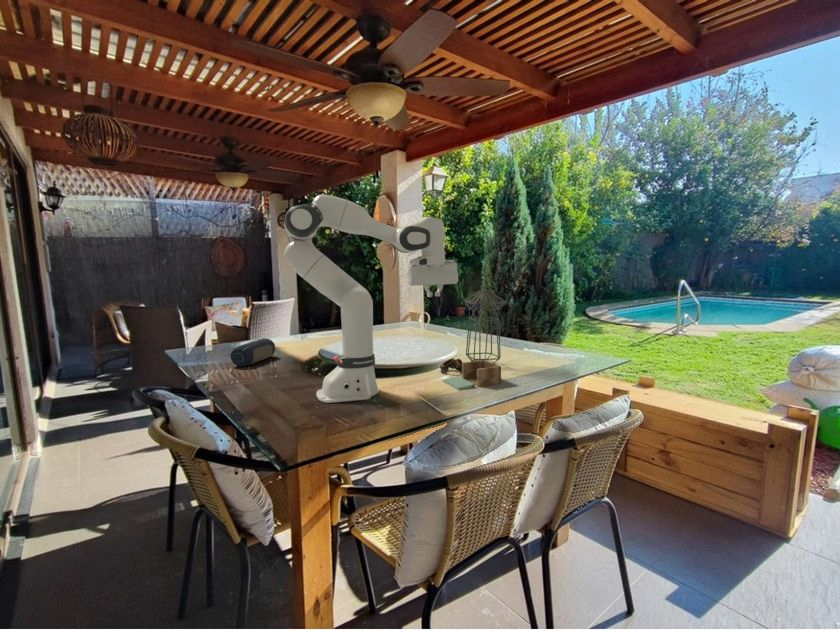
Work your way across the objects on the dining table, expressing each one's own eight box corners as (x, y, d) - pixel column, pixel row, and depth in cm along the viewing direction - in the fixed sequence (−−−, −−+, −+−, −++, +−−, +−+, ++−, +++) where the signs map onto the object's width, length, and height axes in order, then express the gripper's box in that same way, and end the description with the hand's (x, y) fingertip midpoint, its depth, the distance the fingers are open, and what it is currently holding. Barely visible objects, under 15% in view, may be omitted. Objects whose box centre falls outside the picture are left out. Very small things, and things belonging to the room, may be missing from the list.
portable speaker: (247, 369, 194) (245, 347, 193) (228, 367, 197) (227, 346, 195) (279, 356, 218) (278, 337, 217) (262, 355, 221) (261, 336, 219)
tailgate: (474, 387, 158) (458, 391, 155) (458, 379, 168) (443, 382, 165) (474, 384, 158) (458, 387, 155) (458, 376, 168) (443, 379, 165)
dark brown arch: (461, 381, 173) (451, 363, 172) (444, 387, 178) (433, 370, 178) (472, 366, 183) (462, 350, 182) (455, 373, 188) (445, 357, 187)
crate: (478, 390, 158) (478, 369, 157) (461, 382, 169) (462, 362, 168) (500, 387, 163) (501, 366, 161) (483, 379, 173) (483, 359, 172)
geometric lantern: (460, 363, 199) (461, 288, 195) (491, 361, 203) (493, 288, 199) (474, 371, 184) (476, 290, 180) (507, 369, 188) (509, 289, 184)
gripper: (453, 259, 170) (453, 294, 172) (405, 260, 161) (406, 297, 163) (461, 259, 164) (461, 295, 166) (412, 260, 156) (413, 298, 157)
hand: (433, 296), depth 164 cm, fingers closed
